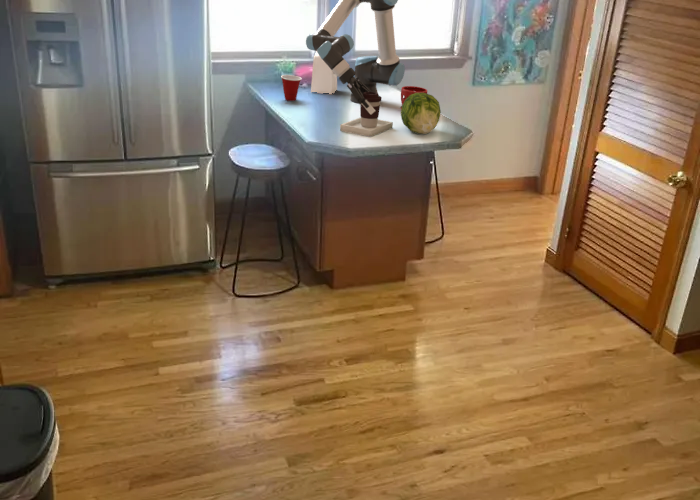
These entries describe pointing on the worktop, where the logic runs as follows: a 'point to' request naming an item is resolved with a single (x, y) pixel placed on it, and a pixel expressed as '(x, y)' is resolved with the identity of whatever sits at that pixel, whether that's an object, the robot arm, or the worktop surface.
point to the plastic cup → (290, 86)
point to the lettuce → (420, 113)
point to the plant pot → (410, 92)
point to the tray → (357, 128)
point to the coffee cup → (366, 117)
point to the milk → (322, 77)
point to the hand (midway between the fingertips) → (375, 109)
